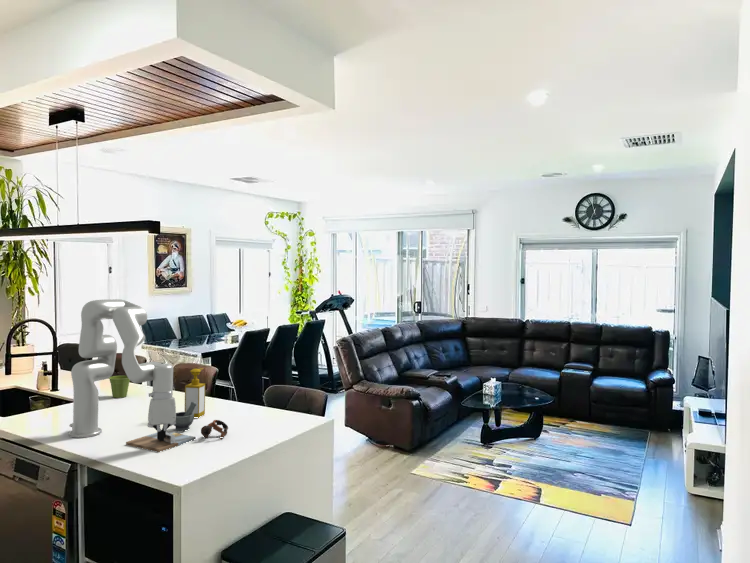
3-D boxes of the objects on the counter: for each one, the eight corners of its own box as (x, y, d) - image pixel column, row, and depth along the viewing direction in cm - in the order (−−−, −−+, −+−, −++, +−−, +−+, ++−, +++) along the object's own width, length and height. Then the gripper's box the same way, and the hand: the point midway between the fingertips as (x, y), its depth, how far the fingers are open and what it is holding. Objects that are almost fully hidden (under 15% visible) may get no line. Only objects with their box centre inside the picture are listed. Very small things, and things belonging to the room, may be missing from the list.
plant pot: (135, 396, 303) (135, 376, 303) (116, 400, 293) (116, 379, 293) (123, 393, 310) (123, 374, 310) (103, 397, 300) (104, 377, 300)
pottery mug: (212, 433, 234) (222, 418, 234) (224, 447, 229) (234, 431, 229) (192, 433, 224) (202, 416, 224) (203, 447, 219) (214, 430, 219)
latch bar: (155, 438, 219) (155, 431, 219) (163, 437, 222) (163, 429, 222) (169, 444, 212) (169, 436, 212) (176, 442, 215) (176, 434, 215)
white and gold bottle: (209, 412, 271) (210, 366, 271) (198, 418, 258) (199, 370, 258) (195, 411, 271) (196, 365, 271) (184, 417, 259) (185, 369, 259)
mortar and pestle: (175, 433, 232) (175, 406, 232) (167, 429, 239) (168, 402, 239) (200, 429, 239) (200, 403, 239) (192, 425, 246) (192, 399, 246)
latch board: (125, 444, 215) (125, 441, 215) (163, 433, 232) (163, 430, 232) (159, 452, 207) (159, 449, 207) (195, 439, 224) (195, 436, 224)
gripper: (143, 398, 207) (142, 445, 207) (183, 395, 214) (182, 440, 214) (141, 394, 213) (140, 440, 213) (180, 391, 221) (178, 435, 221)
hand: (161, 440), depth 214 cm, fingers closed
